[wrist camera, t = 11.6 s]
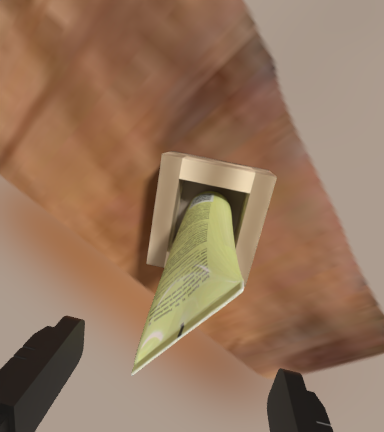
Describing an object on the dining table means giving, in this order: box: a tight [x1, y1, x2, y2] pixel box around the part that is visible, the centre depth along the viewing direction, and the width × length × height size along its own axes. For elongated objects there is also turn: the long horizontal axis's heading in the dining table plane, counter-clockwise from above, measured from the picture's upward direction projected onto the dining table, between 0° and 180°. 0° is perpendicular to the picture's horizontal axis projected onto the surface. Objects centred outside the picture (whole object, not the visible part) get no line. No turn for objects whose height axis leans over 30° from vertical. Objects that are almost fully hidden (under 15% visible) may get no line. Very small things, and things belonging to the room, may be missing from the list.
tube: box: [131, 191, 244, 376], centre depth 21 cm, size 6×5×20 cm
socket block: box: [146, 151, 277, 287], centre depth 29 cm, size 11×12×5 cm
